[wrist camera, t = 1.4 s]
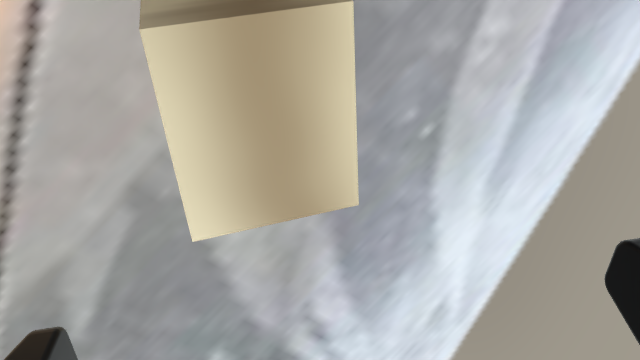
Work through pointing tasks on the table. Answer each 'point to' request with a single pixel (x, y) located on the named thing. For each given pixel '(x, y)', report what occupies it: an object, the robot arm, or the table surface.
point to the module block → (255, 107)
